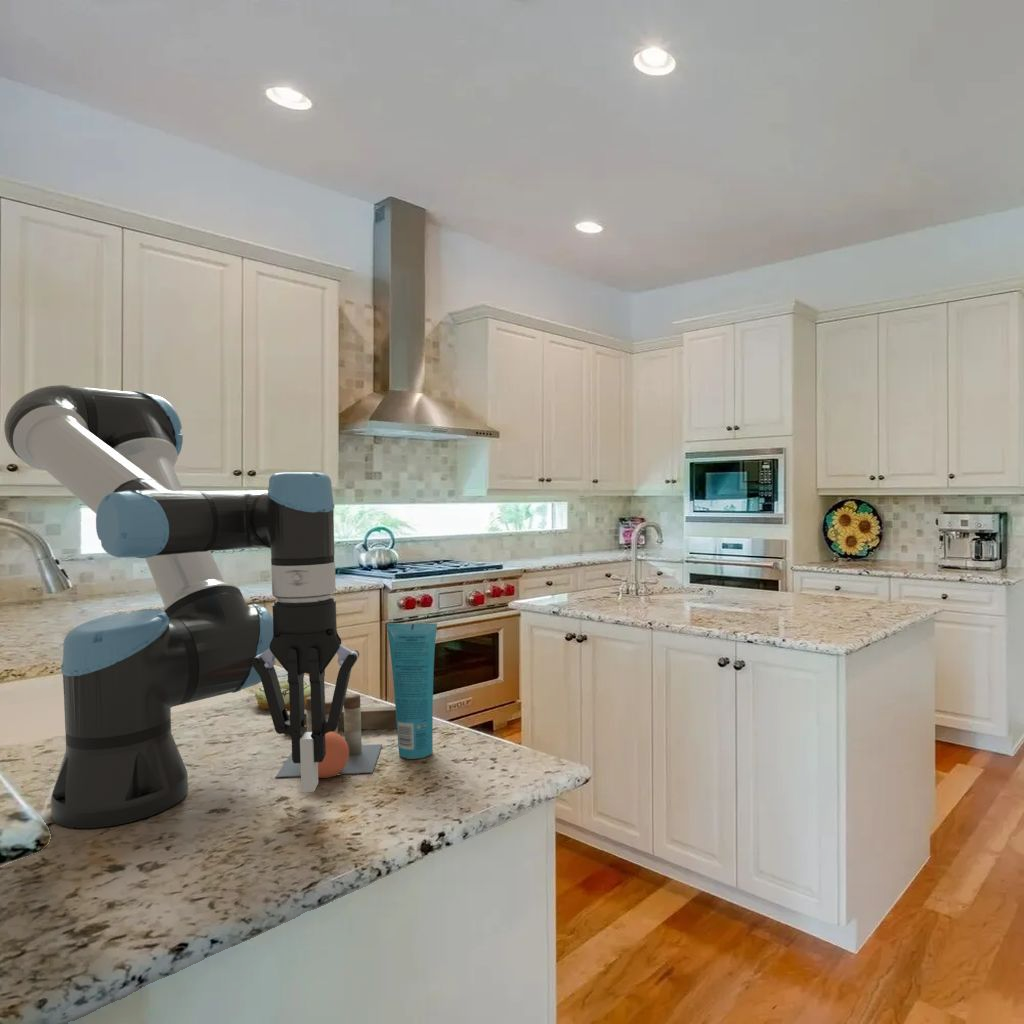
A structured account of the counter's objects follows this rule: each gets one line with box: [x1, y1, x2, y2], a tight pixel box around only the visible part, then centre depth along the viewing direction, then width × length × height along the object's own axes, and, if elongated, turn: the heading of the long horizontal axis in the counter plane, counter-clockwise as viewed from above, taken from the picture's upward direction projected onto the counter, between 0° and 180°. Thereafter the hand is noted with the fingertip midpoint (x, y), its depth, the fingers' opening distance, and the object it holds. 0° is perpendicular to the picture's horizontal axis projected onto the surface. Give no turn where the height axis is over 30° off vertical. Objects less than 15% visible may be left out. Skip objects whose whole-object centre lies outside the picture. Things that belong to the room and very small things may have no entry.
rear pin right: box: [305, 697, 312, 732], centre depth 105 cm, size 2×2×8 cm
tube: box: [386, 622, 438, 760], centre depth 105 cm, size 7×5×19 cm, turn 89°
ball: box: [318, 732, 349, 779], centre depth 97 cm, size 6×6×6 cm
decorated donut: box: [254, 679, 311, 710], centre depth 133 cm, size 10×11×4 cm
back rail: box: [287, 706, 397, 733], centre depth 117 cm, size 20×2×3 cm, turn 94°
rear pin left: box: [343, 693, 363, 755], centre depth 105 cm, size 2×2×8 cm
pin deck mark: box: [275, 743, 383, 778], centre depth 103 cm, size 13×11×1 cm
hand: (310, 787), depth 89 cm, fingers closed
